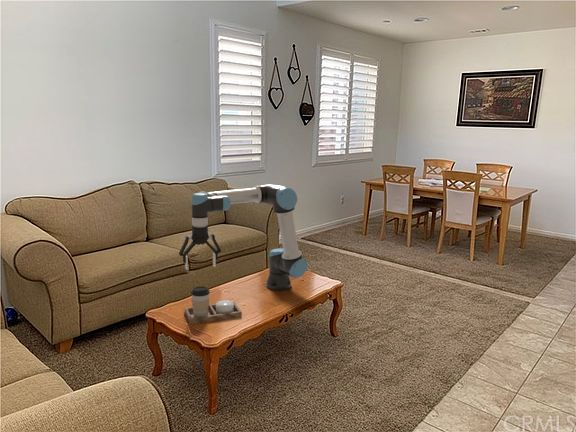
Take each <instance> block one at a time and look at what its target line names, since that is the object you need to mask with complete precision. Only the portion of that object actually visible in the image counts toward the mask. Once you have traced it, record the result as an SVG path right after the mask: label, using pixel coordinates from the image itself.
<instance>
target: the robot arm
mask: <svg viewBox="0 0 576 432" xmlns="http://www.w3.org/2000/svg"><path fill="white" fill-rule="evenodd" d="M190 202H191V203H190V204H191V225H192V226H191V235H185V236H184V241H183V243H182V246H181V247H180V250H179V252H178V255H179V256H180V257H182V262H183V264H185V265H184V266H185V270H186V271H188V270H189V261H188V259H189V258H188V254H190V252H191V251H192V249H193V248H194V247H195V246H196V245H197V246H199V245H200V246H201V245H206V246H207V247H208V248H209V249H210V250H212V267H214V268H216V266H217V265H216V264H217V263H216V262H217V260H218V255H219V253H221V252H222V249H221V247H220V246H219V244H218V242H217V240H216V238H215V237H216V236H215V235H214V233H211V234H209V226H208V224H209V221H208V220H209V218H208V217H209V213H216V212H224V211H225V212H226V211H229V209H230V208H231V205H235V204H245V203H255V204H266V205H270V206H272V210H273V213H275V214H276V217H277V220H278V221H277V222H278V229H279V233H280V238H281V239H280V240H281V245H282V248H273V249H271V250H270V251H269V256H268V257H269V260H268V261H269V262H268V263H269V267H268V268H269V269H268V272H269V273H268V276H267V279H266V282H265V287H266V288H267V289H269V290H274V291H285V290H288V289H290V288H291V287H292V282H291V281H292V280H291V278H295V279H299V278H301V277H303V276H304V275H305V274H306V272H307V270H308V262H307V260H306V259H304V258H303V253H302V251H301V250H299V245H298V239H297V232H296V227H295V220H294V211H295V207H296V205H297V203H298V195H297V193H296V191H295V189H293V188H291V187H290V186H289V187H288V186H284V185H279V184H274V183H268V184H261V185H255V186H253V187H250V188H239V189H229V190H228V189H227V190H219V191H218V190H217V191H209V192H208V191H204V190H203V191H199V192H196V193H193V194H192V195H191V201H190ZM209 238H210V239H211V240H212V242H213V244H214V246H215V248H214V246H213V245H212V244H211V243H209V241H208V240H209ZM191 240H192V241H191ZM190 241H191V242H190ZM189 242H190V244H189V245H188V243H189ZM187 246H188V247H187Z"/></svg>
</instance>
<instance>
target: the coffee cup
mask: <svg viewBox="0 0 576 432" xmlns="http://www.w3.org/2000/svg"><path fill="white" fill-rule="evenodd" d="M210 293H211V292H210V288H208V287H206V286H196V287H194V288H193V289H192V290H191V291H190V294H191V304H192V306H191V307H193V313H194V318H195V317H202V316H208V308H209V305H210Z"/></svg>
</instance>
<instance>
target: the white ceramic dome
mask: <svg viewBox="0 0 576 432" xmlns="http://www.w3.org/2000/svg"><path fill="white" fill-rule="evenodd" d="M215 304H216V314H223V313H230V312H234V303H233V301H232V300H228V299H226V300H224V299H223V300H219V301H217V302H216V303H215Z"/></svg>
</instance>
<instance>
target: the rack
mask: <svg viewBox="0 0 576 432" xmlns="http://www.w3.org/2000/svg"><path fill="white" fill-rule="evenodd" d="M232 302H233V303H234V312H230V313H223V314H216V303H212V304H209V308H208V316H202V317H195V318H194V313H193V306H189V307H184V314H185V316H186V319H187V322H188V323H189V325H196V324H201V323H208V322H214V321H221V320H229V319H235V318H241V317H242V316H243V315H242V313H243V312H242V311H241V309H240V307H239V306H238V305H237V304H236V302H235V301H232Z"/></svg>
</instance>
